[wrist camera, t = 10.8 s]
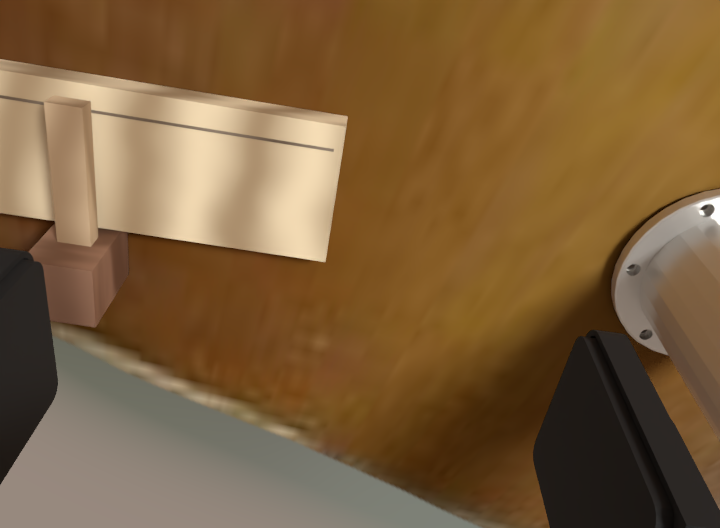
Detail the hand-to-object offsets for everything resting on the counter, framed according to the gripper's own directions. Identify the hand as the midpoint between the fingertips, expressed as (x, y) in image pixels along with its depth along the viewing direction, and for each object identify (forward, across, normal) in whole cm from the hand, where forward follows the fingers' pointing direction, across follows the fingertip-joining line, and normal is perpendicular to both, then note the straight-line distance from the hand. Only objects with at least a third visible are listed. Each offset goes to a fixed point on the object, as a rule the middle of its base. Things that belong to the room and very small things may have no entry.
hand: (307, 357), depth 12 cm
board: (+28, +11, +9) cm, 31 cm away
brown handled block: (+28, +15, +11) cm, 34 cm away
